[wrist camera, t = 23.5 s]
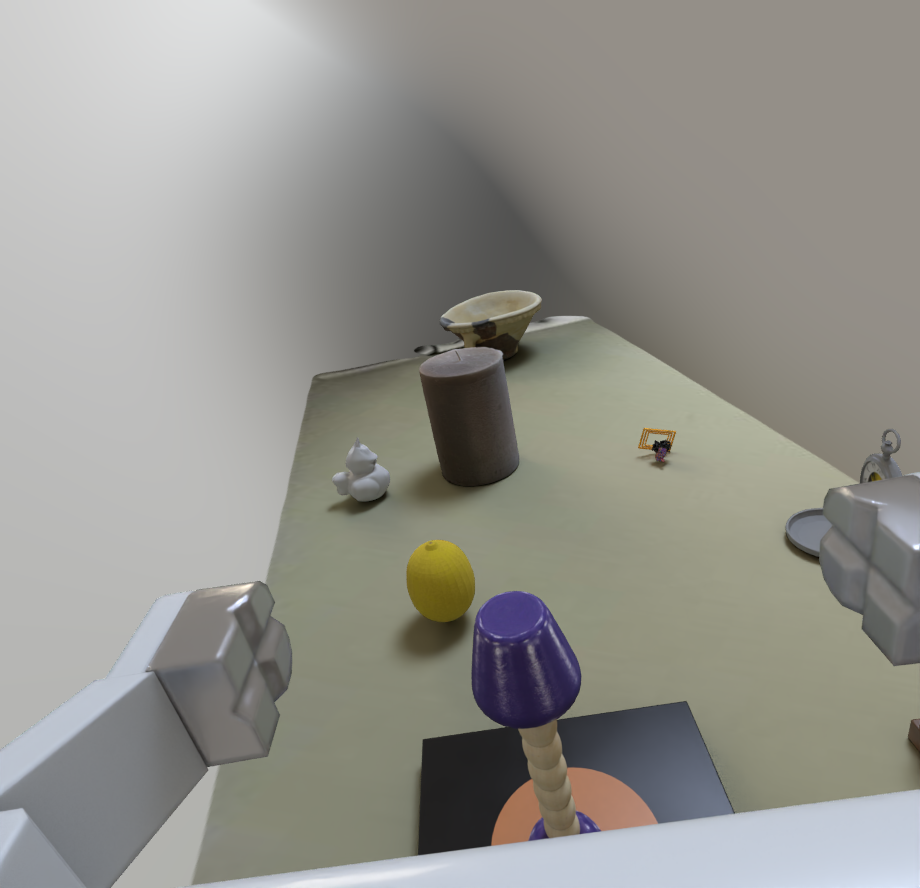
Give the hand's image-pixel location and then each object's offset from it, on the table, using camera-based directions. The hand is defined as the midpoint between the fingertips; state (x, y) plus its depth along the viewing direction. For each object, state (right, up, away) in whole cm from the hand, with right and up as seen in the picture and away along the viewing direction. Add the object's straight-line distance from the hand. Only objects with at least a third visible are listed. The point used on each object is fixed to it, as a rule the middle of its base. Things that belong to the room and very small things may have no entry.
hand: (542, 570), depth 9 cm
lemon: (-2, -13, +43) cm, 45 cm away
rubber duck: (-12, -5, +65) cm, 66 cm away
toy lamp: (+4, -20, +23) cm, 30 cm away
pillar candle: (+1, -1, +66) cm, 66 cm away
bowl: (+6, +18, +102) cm, 104 cm away
